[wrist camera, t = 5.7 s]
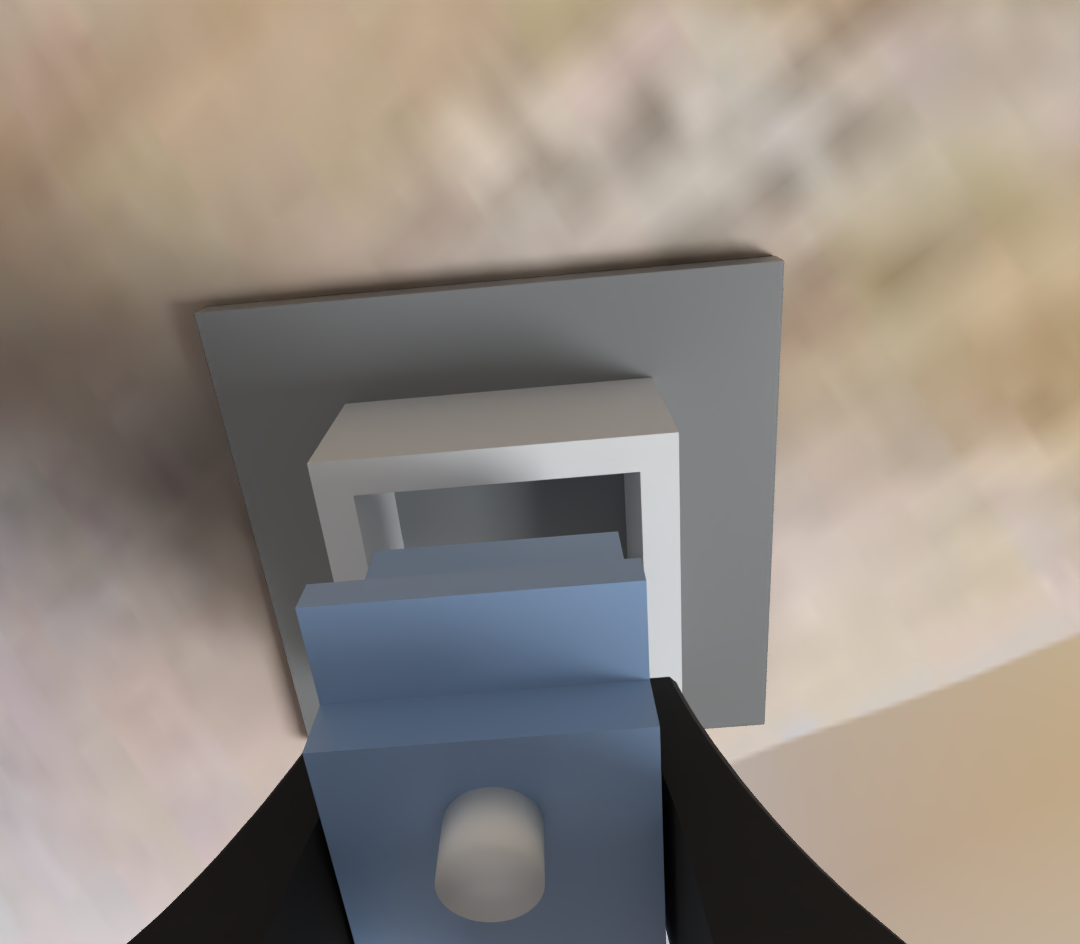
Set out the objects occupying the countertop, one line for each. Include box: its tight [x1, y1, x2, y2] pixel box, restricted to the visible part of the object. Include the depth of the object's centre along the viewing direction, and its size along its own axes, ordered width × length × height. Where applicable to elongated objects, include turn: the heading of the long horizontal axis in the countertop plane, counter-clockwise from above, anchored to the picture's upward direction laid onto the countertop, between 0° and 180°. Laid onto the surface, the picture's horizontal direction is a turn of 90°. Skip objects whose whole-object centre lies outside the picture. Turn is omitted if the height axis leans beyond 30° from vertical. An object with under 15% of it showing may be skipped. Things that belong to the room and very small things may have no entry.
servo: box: [295, 531, 666, 944], centre depth 11 cm, size 4×8×5 cm, turn 5°
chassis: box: [194, 256, 784, 736], centre depth 17 cm, size 12×12×4 cm
